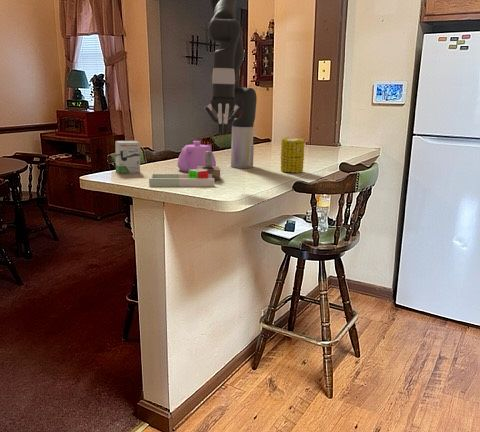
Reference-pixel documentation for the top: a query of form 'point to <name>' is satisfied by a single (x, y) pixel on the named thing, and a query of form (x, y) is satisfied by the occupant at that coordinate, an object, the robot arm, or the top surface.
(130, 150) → the ink box
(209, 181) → the guide rails
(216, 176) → the bore block
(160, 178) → the tray
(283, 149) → the food
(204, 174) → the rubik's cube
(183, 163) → the purple bag
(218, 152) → the top surface
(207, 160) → the pin gauge
